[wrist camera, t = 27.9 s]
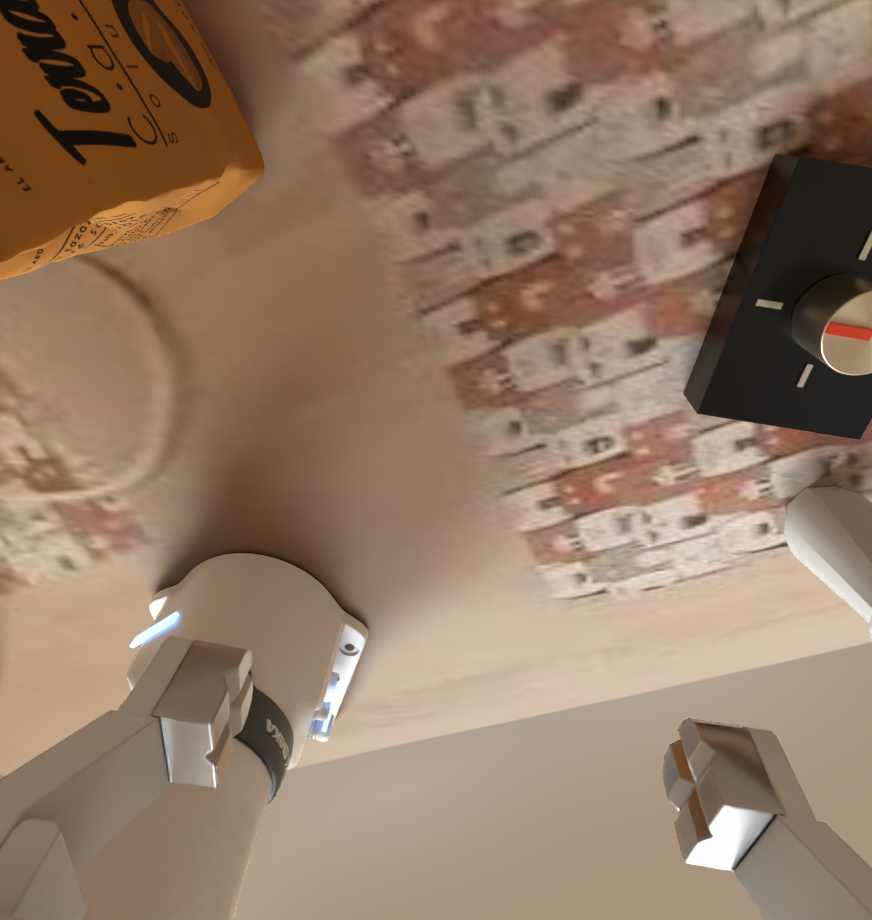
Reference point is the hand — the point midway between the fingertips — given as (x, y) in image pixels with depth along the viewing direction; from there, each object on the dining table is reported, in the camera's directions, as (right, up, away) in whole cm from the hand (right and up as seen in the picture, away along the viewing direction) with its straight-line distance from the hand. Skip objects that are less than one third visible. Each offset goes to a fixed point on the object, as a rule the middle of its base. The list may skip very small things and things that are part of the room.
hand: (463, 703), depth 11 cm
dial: (+21, +13, +21) cm, 32 cm away
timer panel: (+21, +14, +24) cm, 35 cm away
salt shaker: (+26, +1, +31) cm, 41 cm away
